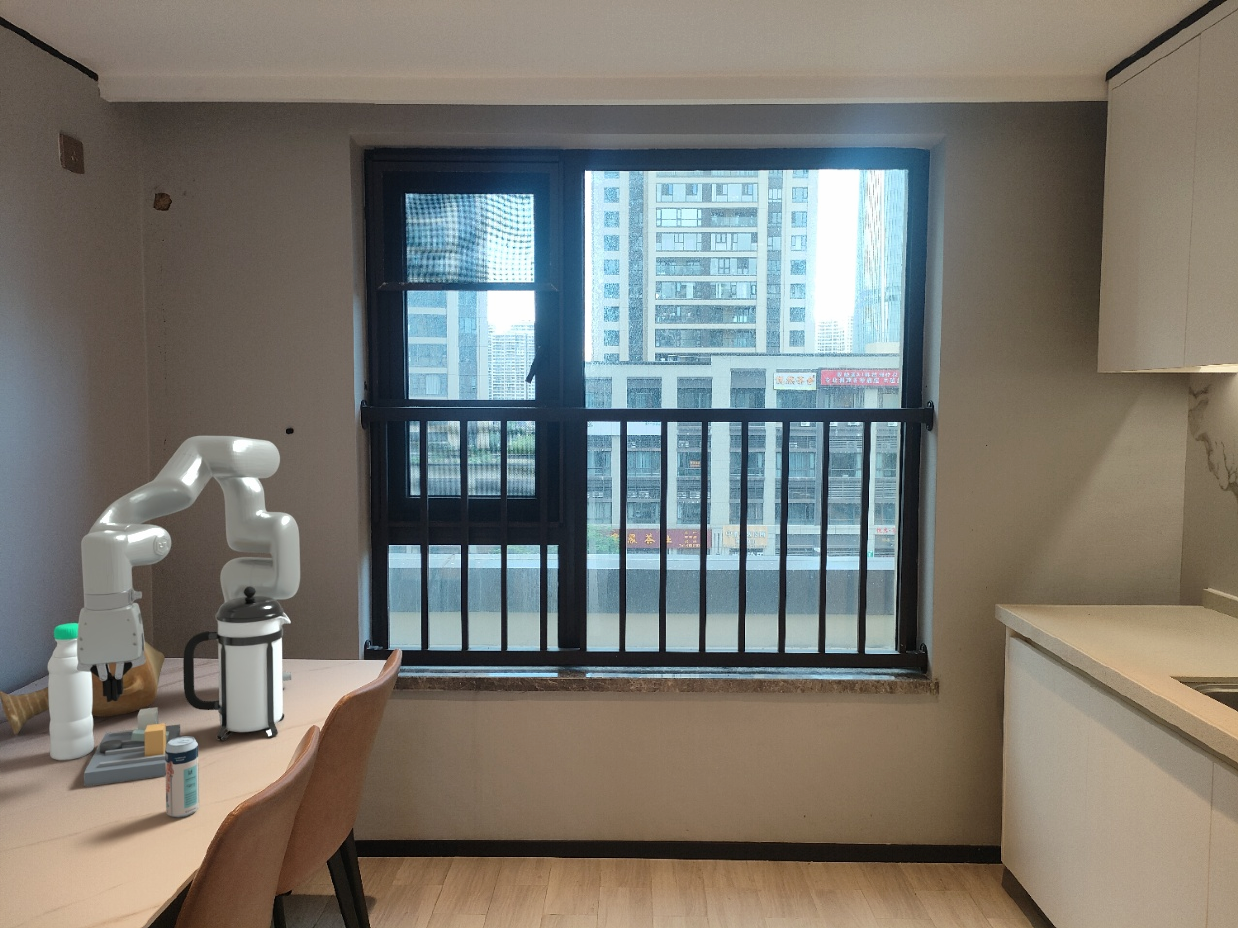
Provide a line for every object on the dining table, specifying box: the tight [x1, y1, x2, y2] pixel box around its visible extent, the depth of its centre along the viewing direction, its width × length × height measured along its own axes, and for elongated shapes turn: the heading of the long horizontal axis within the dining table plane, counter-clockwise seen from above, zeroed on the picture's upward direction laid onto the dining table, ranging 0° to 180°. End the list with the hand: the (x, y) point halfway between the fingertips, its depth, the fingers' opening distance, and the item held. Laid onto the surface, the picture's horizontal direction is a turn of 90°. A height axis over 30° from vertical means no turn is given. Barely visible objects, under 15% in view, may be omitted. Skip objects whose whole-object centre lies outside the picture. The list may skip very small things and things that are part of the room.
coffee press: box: [182, 586, 291, 742], centre depth 173 cm, size 17×16×30 cm
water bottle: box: [47, 622, 95, 761], centre depth 160 cm, size 7×7×25 cm
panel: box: [83, 724, 181, 787], centre depth 159 cm, size 13×20×4 cm, turn 22°
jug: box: [0, 640, 165, 736], centre depth 179 cm, size 20×19×30 cm
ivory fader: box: [137, 706, 159, 730], centre depth 164 cm, size 3×4×5 cm
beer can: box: [165, 735, 200, 818], centre depth 138 cm, size 5×5×12 cm
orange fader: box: [145, 722, 167, 757], centre depth 156 cm, size 3×4×5 cm
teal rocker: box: [131, 728, 169, 742], centre depth 160 cm, size 6×2×1 cm, turn 112°
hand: (113, 698), depth 153 cm, fingers closed
